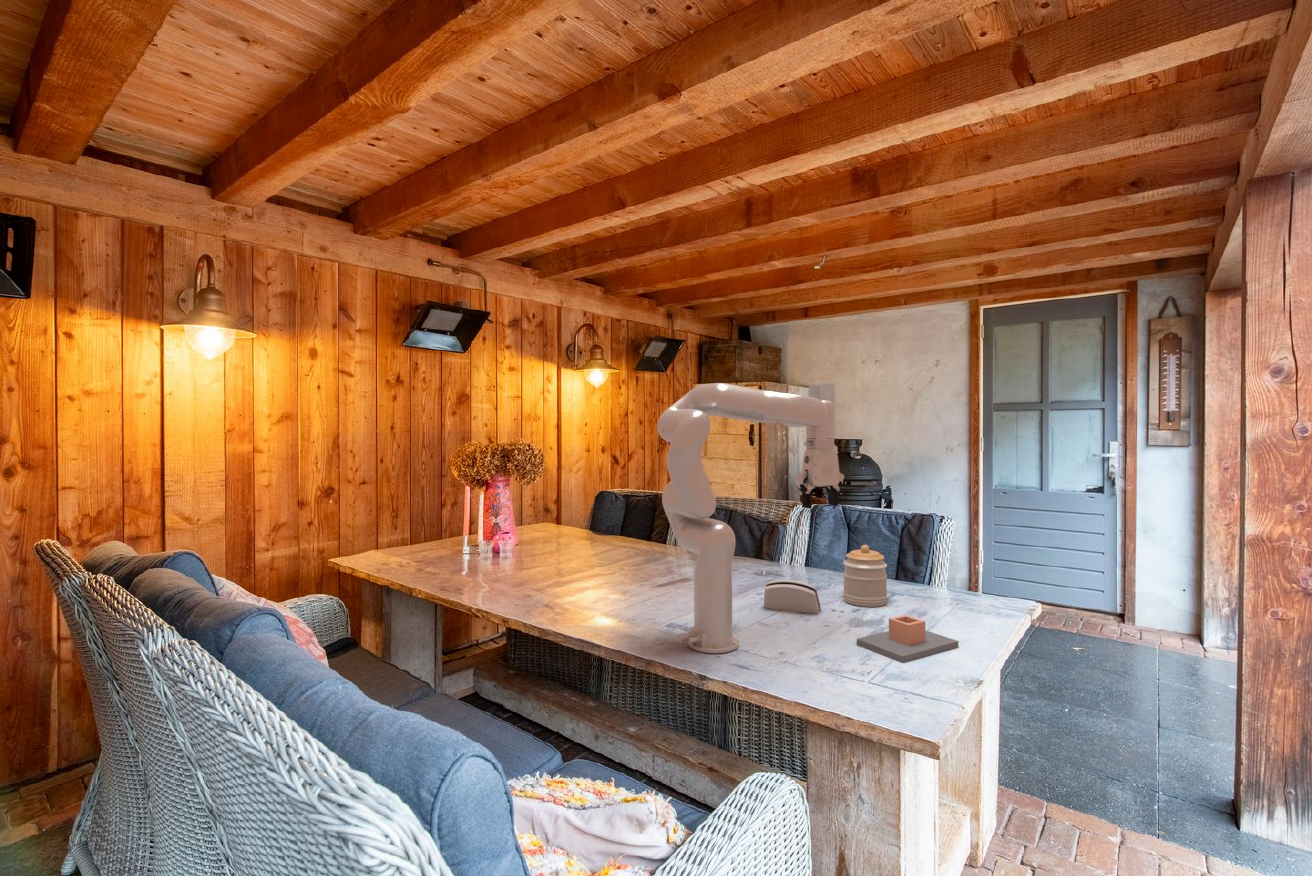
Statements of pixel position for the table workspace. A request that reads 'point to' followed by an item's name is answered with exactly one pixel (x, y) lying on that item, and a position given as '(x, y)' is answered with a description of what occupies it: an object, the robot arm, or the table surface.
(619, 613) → the table surface
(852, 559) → the jar
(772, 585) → the half-round card holder
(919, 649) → the post plate
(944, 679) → the table surface
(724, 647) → the robot arm
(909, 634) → the collar
